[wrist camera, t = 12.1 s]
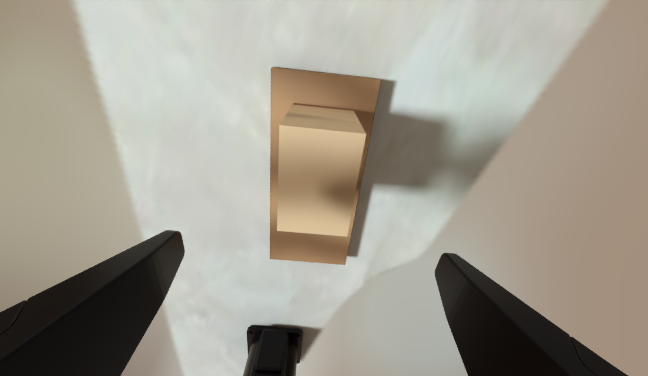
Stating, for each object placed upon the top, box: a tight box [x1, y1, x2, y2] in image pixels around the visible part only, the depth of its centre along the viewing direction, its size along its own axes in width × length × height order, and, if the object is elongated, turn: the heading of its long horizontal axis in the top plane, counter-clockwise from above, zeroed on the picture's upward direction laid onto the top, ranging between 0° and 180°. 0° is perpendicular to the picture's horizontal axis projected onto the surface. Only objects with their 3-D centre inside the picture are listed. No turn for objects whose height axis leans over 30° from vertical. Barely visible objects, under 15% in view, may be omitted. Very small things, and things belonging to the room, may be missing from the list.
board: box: [270, 67, 381, 265], centre depth 20 cm, size 16×7×1 cm, turn 174°
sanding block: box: [277, 103, 366, 237], centre depth 16 cm, size 6×4×6 cm, turn 174°
